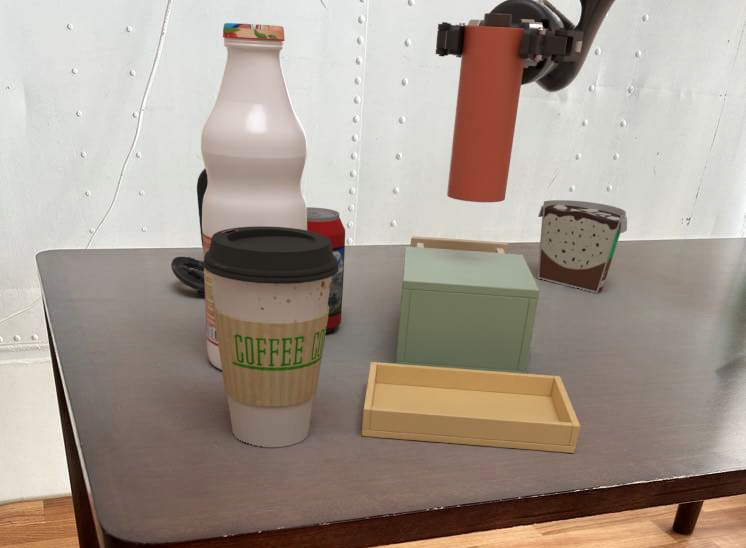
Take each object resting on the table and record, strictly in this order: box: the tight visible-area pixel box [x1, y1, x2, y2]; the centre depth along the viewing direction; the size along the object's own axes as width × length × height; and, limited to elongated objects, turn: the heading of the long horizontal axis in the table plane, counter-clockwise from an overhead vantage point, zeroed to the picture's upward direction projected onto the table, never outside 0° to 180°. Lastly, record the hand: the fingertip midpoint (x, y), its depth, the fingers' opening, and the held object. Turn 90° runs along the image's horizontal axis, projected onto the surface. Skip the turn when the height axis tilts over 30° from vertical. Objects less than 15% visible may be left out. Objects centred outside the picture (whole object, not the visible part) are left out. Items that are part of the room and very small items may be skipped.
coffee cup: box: [202, 226, 339, 448], centre depth 62 cm, size 10×10×15 cm
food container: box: [536, 199, 628, 294], centre depth 110 cm, size 12×6×10 cm, turn 46°
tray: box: [361, 361, 581, 454], centre depth 70 cm, size 17×11×2 cm, turn 85°
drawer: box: [409, 235, 509, 254], centre depth 95 cm, size 18×11×7 cm, turn 175°
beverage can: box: [306, 206, 346, 333], centre depth 87 cm, size 7×7×12 cm
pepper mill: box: [446, 12, 525, 203], centre depth 75 cm, size 6×6×15 cm
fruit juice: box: [200, 22, 308, 371], centre depth 73 cm, size 9×9×28 cm
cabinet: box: [395, 246, 541, 374], centre depth 84 cm, size 15×13×9 cm
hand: (489, 41), depth 71 cm, fingers closed on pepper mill, 5 cm apart
